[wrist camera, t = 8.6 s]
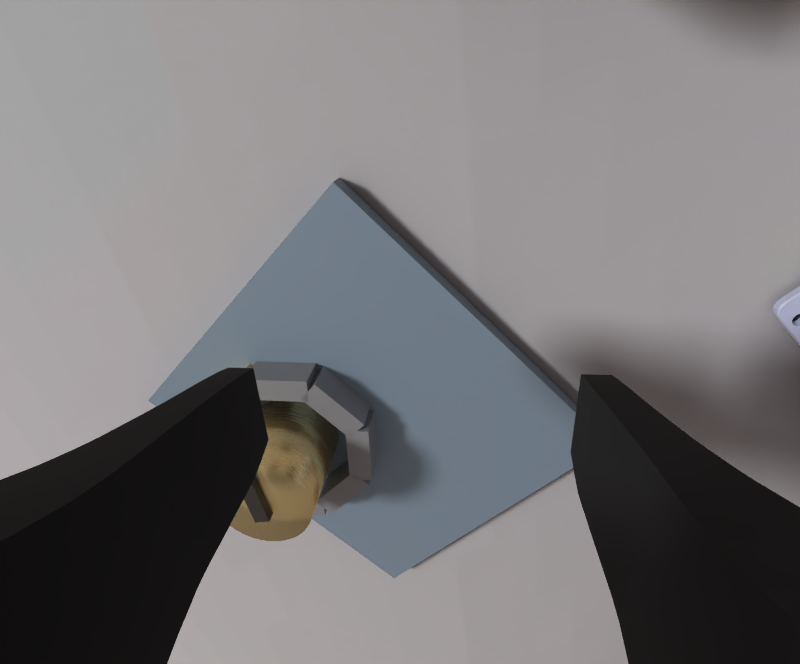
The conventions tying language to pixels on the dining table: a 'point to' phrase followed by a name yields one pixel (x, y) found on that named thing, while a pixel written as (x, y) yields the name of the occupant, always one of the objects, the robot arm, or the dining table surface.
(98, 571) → the robot arm
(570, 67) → the dining table surface
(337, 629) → the dining table surface
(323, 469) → the knob
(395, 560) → the blue-grey flat slab
